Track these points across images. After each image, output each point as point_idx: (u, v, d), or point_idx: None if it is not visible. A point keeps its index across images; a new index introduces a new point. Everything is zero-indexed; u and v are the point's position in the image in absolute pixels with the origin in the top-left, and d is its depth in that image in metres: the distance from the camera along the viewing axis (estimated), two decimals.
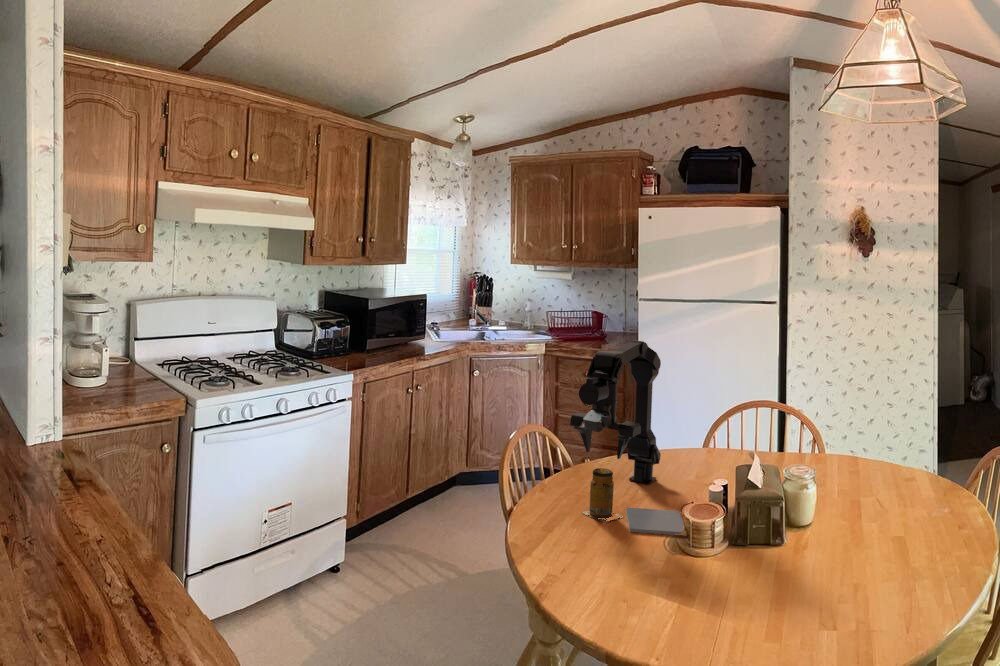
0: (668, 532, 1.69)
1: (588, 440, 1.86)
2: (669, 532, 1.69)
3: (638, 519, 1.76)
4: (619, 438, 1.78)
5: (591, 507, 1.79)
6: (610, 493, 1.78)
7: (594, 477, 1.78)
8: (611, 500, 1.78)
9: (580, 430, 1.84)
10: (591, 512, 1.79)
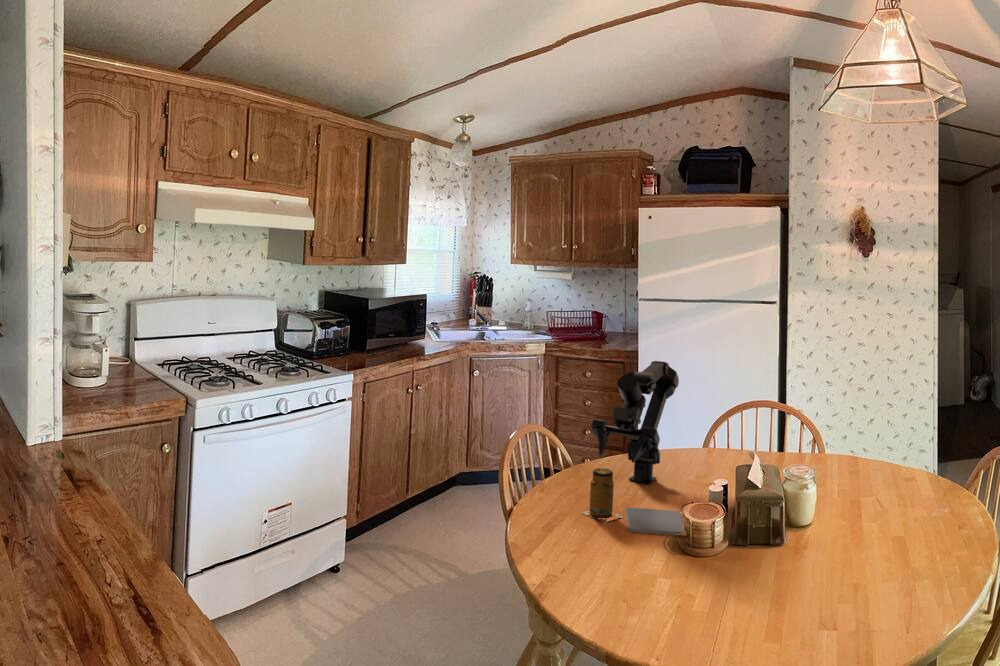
0: (668, 532, 1.69)
1: (603, 445, 1.89)
2: (669, 532, 1.69)
3: (638, 519, 1.76)
4: (640, 437, 1.84)
5: (591, 507, 1.79)
6: (610, 493, 1.78)
7: (594, 477, 1.78)
8: (611, 500, 1.78)
9: (600, 430, 1.90)
10: (591, 512, 1.79)
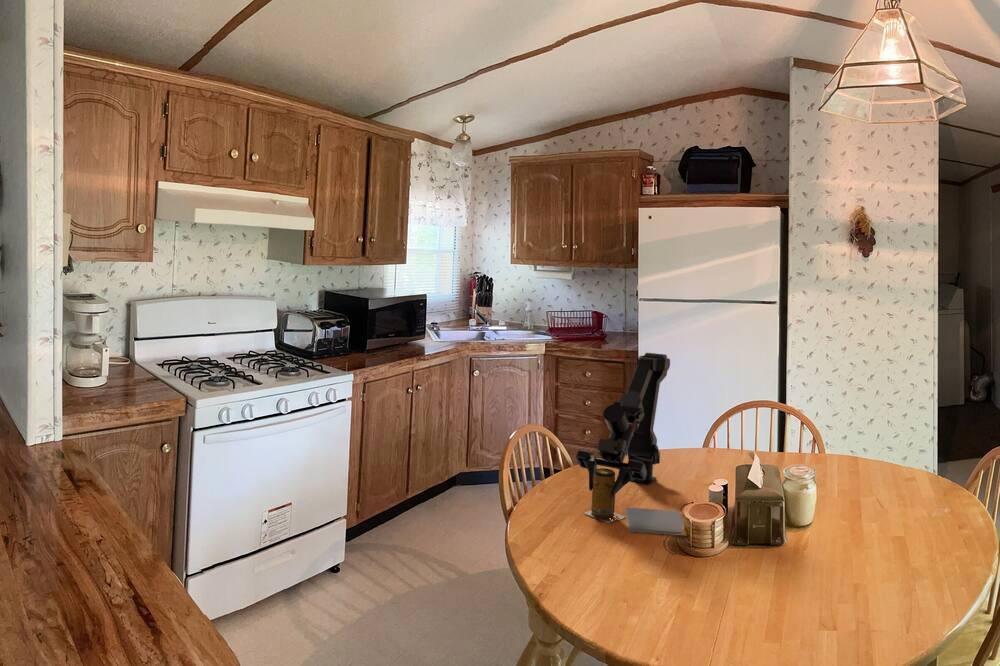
0: (668, 532, 1.69)
1: (593, 479, 1.81)
2: (669, 532, 1.69)
3: (638, 519, 1.76)
4: (621, 470, 1.77)
5: (593, 508, 1.79)
6: None
7: (596, 477, 1.78)
8: (613, 500, 1.78)
9: (590, 463, 1.82)
10: (593, 512, 1.79)
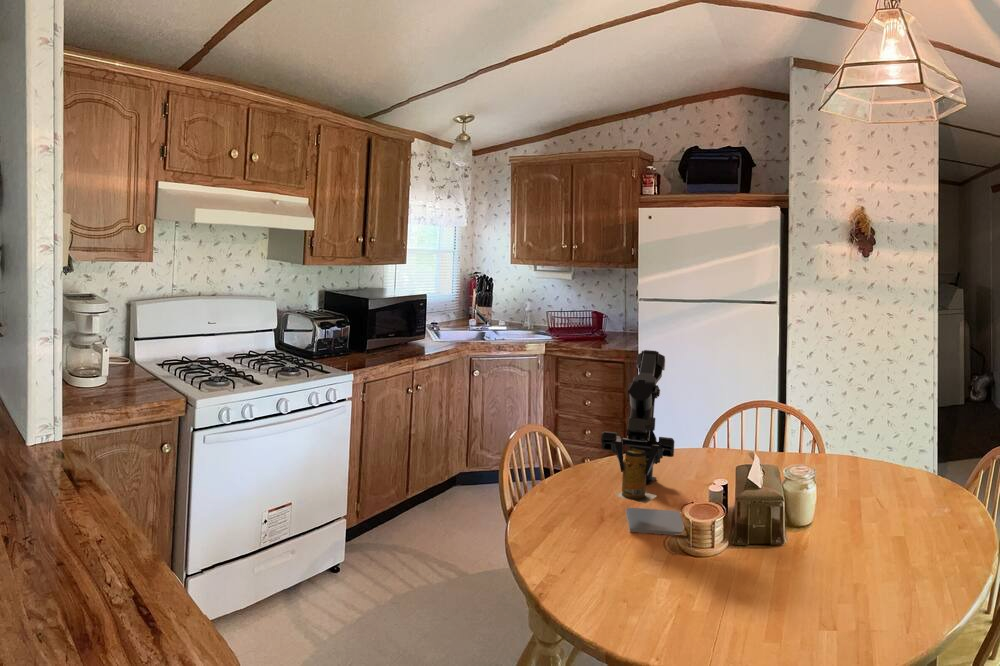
0: (668, 532, 1.69)
1: None
2: (669, 532, 1.69)
3: (638, 519, 1.76)
4: (653, 448, 1.75)
5: (626, 489, 1.75)
6: (645, 473, 1.74)
7: (629, 458, 1.74)
8: (645, 480, 1.75)
9: (619, 444, 1.77)
10: (626, 494, 1.75)
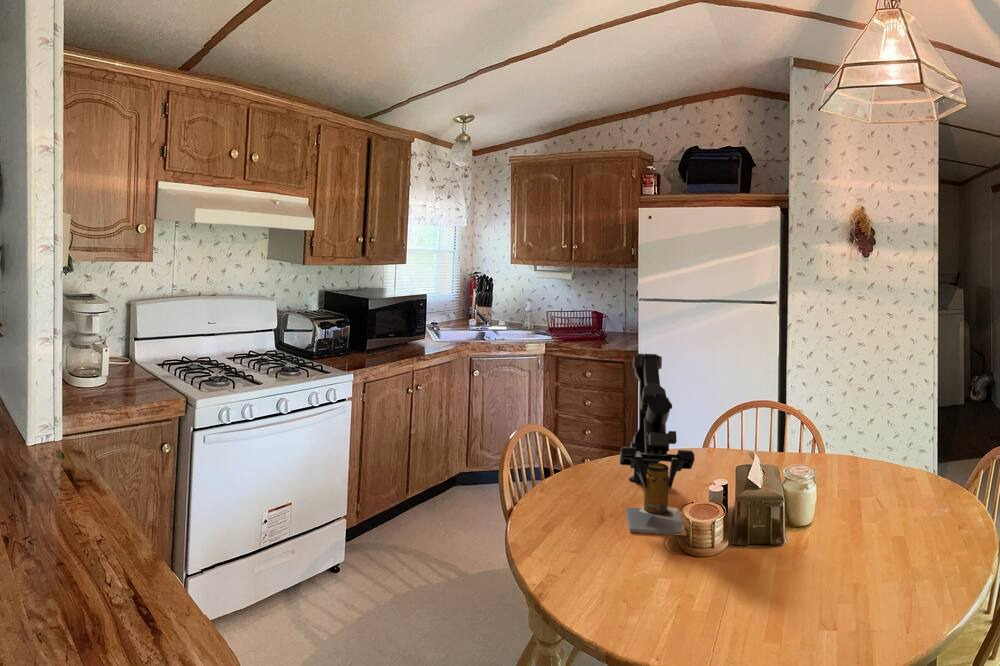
0: (668, 532, 1.69)
1: None
2: (669, 532, 1.69)
3: (638, 519, 1.76)
4: (674, 462, 1.75)
5: (650, 504, 1.74)
6: (668, 487, 1.74)
7: (653, 473, 1.73)
8: None
9: (640, 459, 1.76)
10: (650, 509, 1.74)
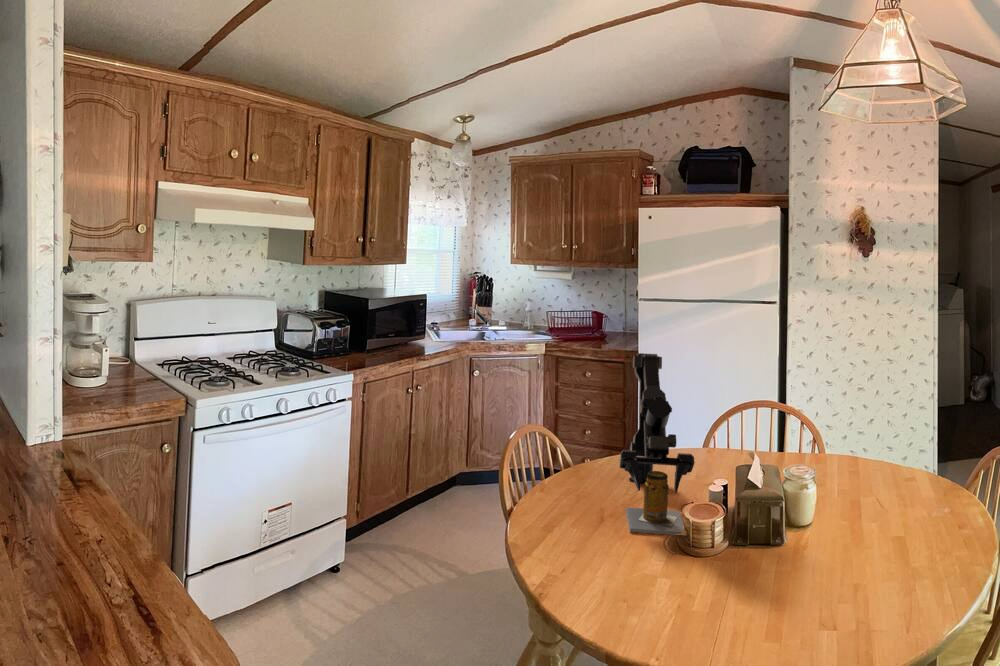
0: (668, 532, 1.69)
1: None
2: (669, 532, 1.69)
3: (638, 519, 1.76)
4: (680, 465, 1.75)
5: (649, 513, 1.74)
6: (667, 496, 1.74)
7: (652, 481, 1.73)
8: None
9: (634, 462, 1.76)
10: (649, 518, 1.74)
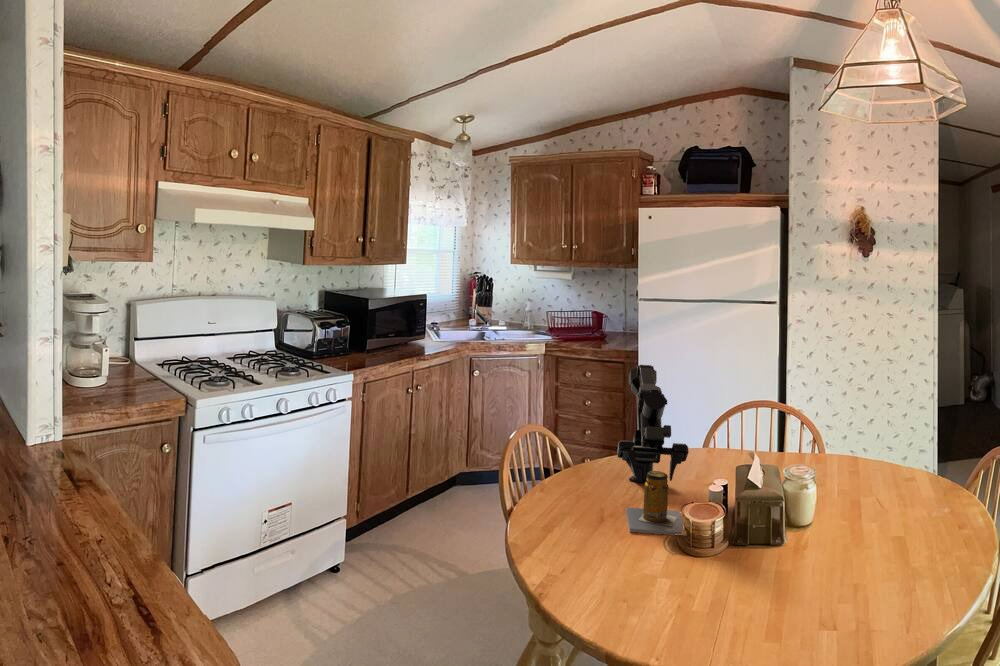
0: (668, 532, 1.69)
1: None
2: (669, 532, 1.69)
3: (638, 519, 1.76)
4: (674, 455, 1.84)
5: (649, 513, 1.74)
6: (667, 496, 1.74)
7: (652, 481, 1.73)
8: None
9: (631, 452, 1.85)
10: (649, 518, 1.74)
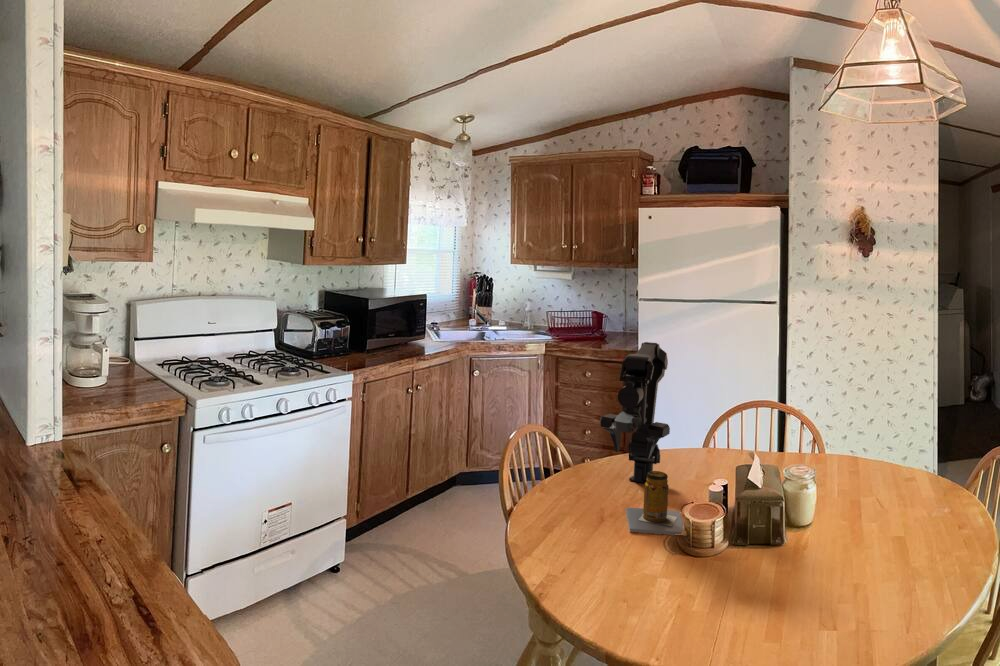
0: (668, 532, 1.69)
1: (618, 441, 1.92)
2: (669, 532, 1.69)
3: None
4: (649, 439, 1.84)
5: (649, 513, 1.74)
6: (667, 496, 1.74)
7: (652, 481, 1.73)
8: None
9: (610, 431, 1.90)
10: (649, 517, 1.74)
